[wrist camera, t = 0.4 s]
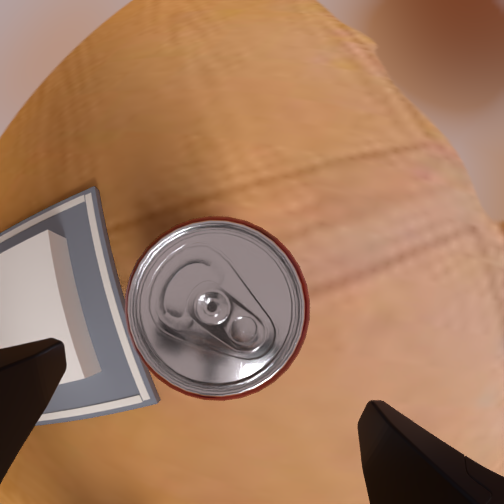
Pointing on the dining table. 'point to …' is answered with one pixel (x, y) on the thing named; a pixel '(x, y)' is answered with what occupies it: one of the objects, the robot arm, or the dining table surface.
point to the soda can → (217, 308)
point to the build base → (92, 311)
